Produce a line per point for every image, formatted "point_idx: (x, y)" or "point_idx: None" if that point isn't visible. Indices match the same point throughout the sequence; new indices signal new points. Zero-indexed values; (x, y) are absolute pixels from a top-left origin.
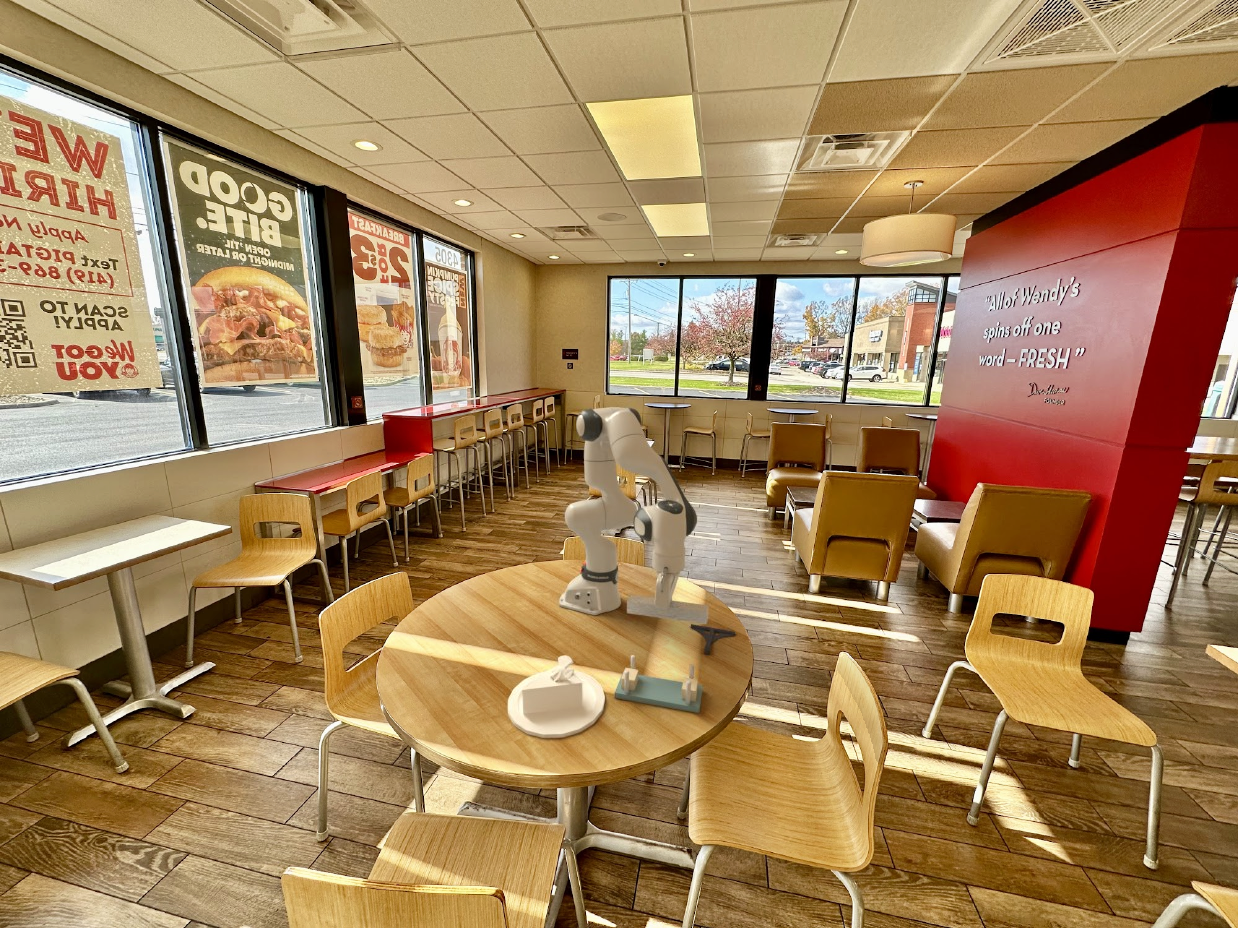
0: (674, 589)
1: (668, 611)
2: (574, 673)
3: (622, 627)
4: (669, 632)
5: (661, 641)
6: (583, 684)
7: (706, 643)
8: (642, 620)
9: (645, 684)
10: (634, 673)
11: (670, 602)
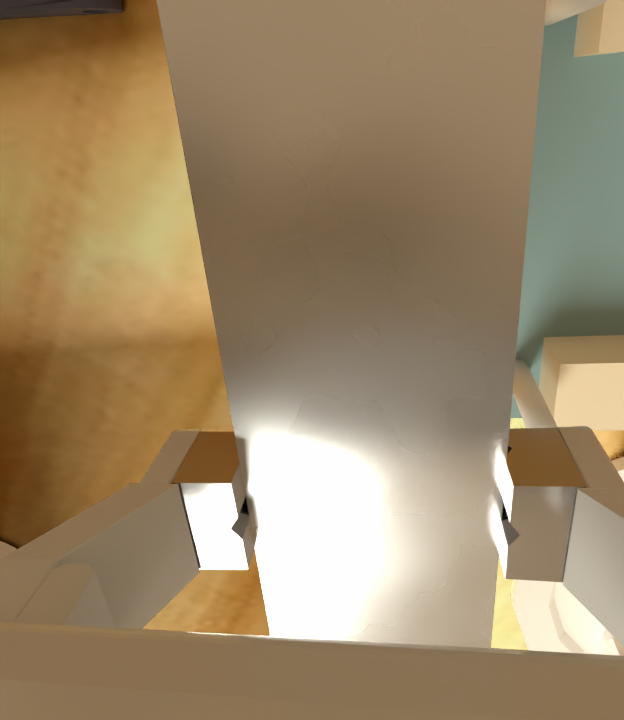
0: (187, 640)
1: (543, 428)
2: (537, 581)
3: (114, 485)
4: (29, 274)
5: (129, 297)
6: None
7: (30, 11)
8: (9, 421)
9: (580, 291)
10: (600, 375)
11: (319, 462)
